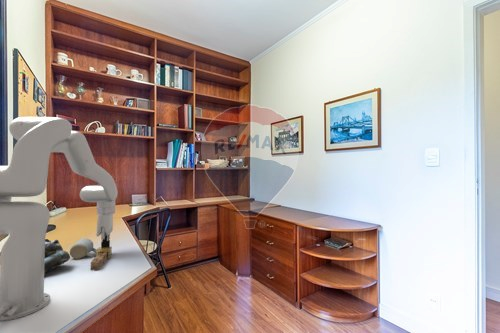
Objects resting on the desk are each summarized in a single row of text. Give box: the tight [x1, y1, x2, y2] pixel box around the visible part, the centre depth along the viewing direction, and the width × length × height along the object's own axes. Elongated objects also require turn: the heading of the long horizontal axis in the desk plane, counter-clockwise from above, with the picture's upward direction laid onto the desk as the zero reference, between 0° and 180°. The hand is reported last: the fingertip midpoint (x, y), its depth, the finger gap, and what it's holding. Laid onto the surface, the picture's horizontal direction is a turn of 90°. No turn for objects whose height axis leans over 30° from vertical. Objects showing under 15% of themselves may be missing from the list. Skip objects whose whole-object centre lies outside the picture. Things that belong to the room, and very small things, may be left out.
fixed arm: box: [90, 252, 104, 271], centre depth 105 cm, size 18×2×3 cm, turn 19°
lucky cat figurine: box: [44, 238, 71, 274], centre depth 95 cm, size 15×12×14 cm
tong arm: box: [94, 252, 108, 271], centre depth 103 cm, size 16×1×3 cm, turn 18°
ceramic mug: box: [69, 237, 97, 260], centre depth 111 cm, size 11×8×8 cm
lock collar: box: [96, 246, 112, 259], centre depth 108 cm, size 2×5×5 cm, turn 109°
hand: (105, 249), depth 111 cm, fingers closed
